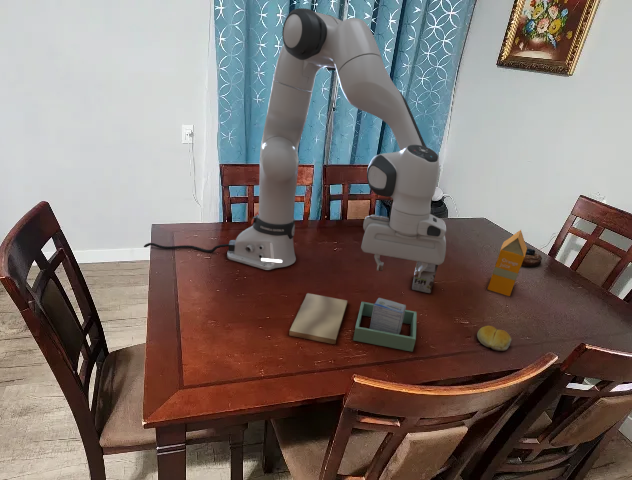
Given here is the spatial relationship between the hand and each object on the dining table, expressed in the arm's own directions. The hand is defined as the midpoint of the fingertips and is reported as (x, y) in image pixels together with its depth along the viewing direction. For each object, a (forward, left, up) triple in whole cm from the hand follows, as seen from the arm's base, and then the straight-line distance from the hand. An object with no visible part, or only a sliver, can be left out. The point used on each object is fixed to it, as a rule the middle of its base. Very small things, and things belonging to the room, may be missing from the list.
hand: (398, 273), depth 110 cm
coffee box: (+10, +31, -18) cm, 37 cm away
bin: (0, 0, -18) cm, 18 cm away
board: (-18, 0, -18) cm, 26 cm away
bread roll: (+30, +5, -18) cm, 35 cm away
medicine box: (0, 0, -18) cm, 18 cm away
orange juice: (+37, +40, -18) cm, 57 cm away
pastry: (+50, +68, -18) cm, 86 cm away
